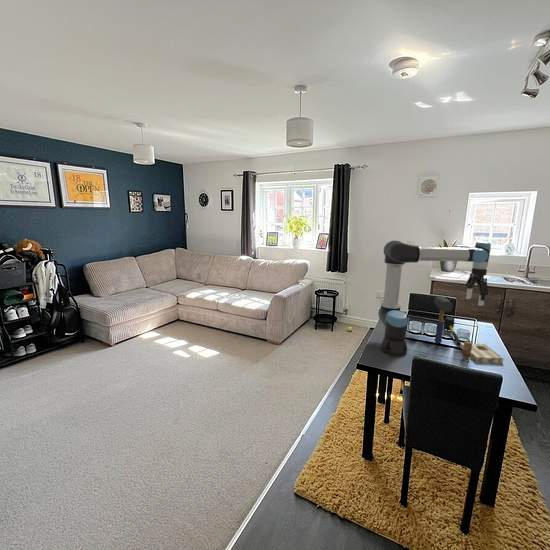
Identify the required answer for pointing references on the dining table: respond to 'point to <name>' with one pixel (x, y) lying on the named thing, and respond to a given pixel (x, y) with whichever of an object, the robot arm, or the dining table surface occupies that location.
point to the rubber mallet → (441, 315)
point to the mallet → (451, 328)
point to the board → (484, 354)
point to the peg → (467, 350)
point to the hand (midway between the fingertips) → (474, 301)
